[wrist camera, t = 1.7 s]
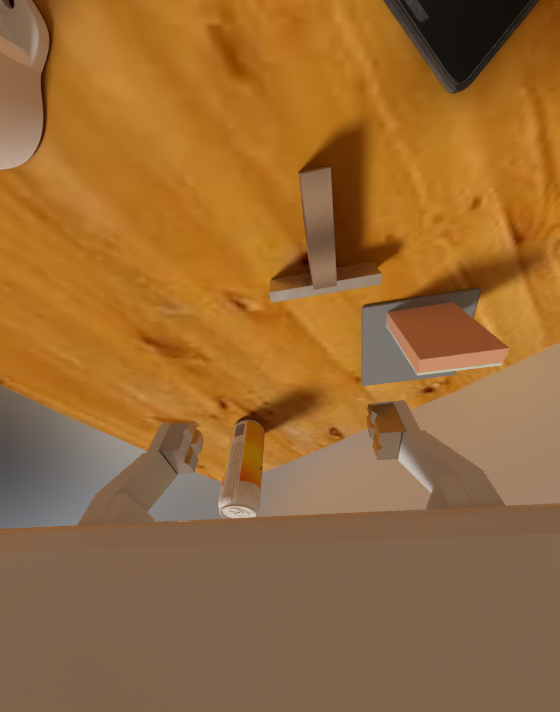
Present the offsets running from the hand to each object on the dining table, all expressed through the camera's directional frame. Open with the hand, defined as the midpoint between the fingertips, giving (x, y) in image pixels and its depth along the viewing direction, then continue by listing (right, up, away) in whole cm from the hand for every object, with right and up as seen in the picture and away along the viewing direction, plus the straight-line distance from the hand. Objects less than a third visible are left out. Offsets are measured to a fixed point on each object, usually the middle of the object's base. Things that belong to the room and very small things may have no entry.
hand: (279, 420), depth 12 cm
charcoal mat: (+19, +5, +24) cm, 31 cm away
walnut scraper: (+4, +17, +16) cm, 23 cm away
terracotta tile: (+18, +9, +21) cm, 29 cm away
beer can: (-6, -11, +37) cm, 39 cm away
